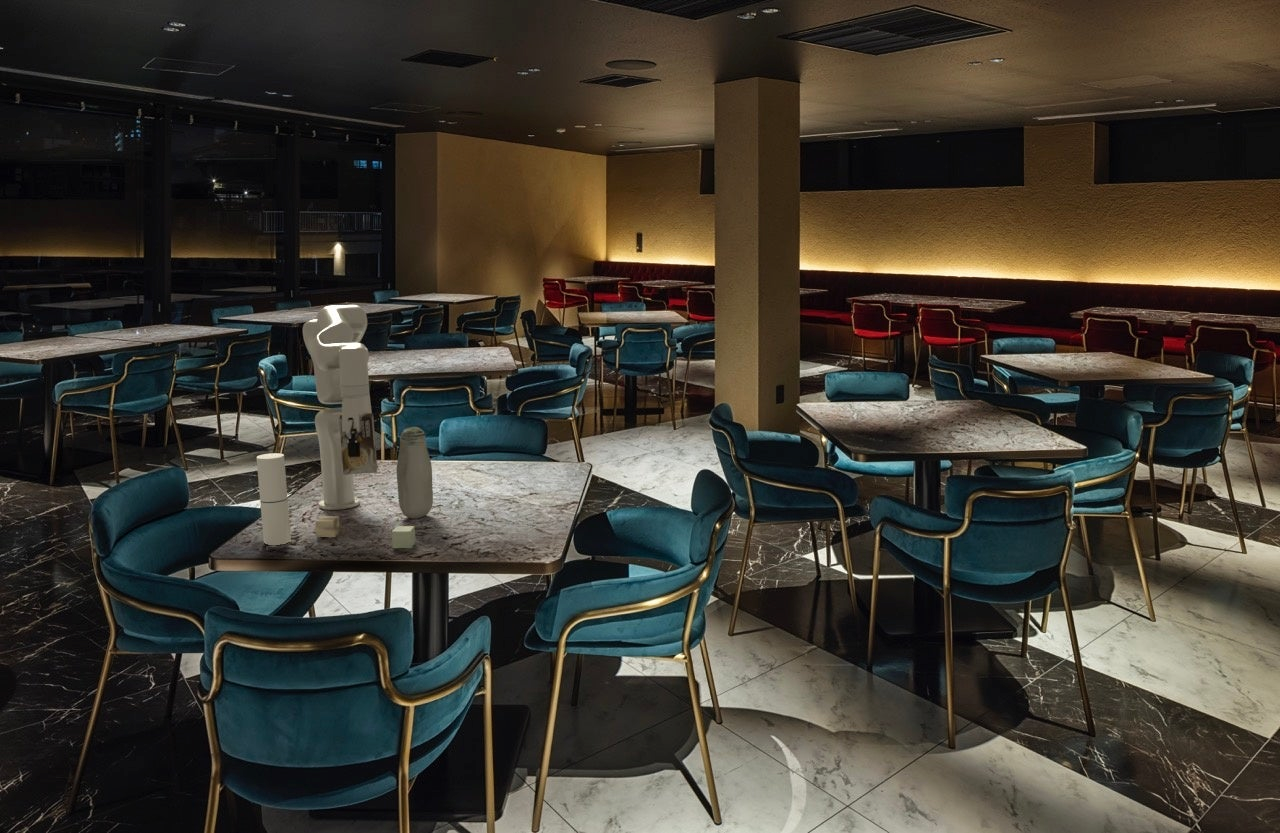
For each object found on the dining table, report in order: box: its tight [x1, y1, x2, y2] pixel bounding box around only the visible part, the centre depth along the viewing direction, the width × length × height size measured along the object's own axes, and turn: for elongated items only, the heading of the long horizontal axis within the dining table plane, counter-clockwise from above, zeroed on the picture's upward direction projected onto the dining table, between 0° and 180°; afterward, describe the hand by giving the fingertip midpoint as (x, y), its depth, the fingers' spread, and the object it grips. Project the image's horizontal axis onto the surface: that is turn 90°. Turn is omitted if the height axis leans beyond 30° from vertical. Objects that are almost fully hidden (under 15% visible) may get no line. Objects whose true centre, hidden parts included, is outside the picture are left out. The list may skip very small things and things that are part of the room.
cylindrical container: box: [256, 452, 292, 545], centre depth 263 cm, size 7×7×25 cm
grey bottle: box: [396, 426, 434, 520], centre depth 286 cm, size 10×10×28 cm
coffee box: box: [339, 413, 378, 475], centre depth 262 cm, size 9×6×16 cm
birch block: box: [315, 515, 341, 538], centre depth 271 cm, size 5×5×5 cm
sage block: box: [391, 525, 417, 549], centre depth 260 cm, size 5×5×5 cm
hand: (359, 452), depth 263 cm, fingers closed on coffee box, 7 cm apart
